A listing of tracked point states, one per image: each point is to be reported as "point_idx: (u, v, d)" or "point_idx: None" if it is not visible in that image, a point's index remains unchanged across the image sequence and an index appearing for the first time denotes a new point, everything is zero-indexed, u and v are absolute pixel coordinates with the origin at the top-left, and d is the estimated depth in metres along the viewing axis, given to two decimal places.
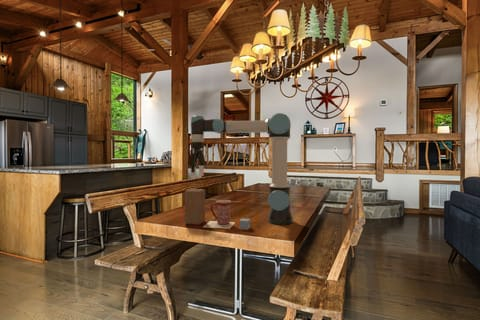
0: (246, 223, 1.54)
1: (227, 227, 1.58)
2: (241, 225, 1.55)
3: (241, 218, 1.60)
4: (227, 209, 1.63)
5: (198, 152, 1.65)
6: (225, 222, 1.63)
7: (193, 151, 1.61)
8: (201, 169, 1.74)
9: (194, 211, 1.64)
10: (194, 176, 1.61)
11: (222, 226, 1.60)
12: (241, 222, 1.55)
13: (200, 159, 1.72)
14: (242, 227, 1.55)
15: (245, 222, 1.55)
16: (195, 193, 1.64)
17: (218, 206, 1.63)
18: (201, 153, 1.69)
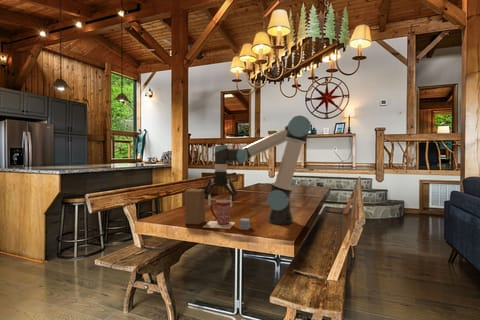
0: (246, 223, 1.54)
1: (227, 227, 1.58)
2: (241, 225, 1.55)
3: (241, 218, 1.60)
4: (227, 209, 1.63)
5: (216, 181, 1.66)
6: (225, 222, 1.63)
7: None
8: None
9: (194, 211, 1.64)
10: None
11: (222, 226, 1.60)
12: (241, 222, 1.55)
13: None
14: (242, 227, 1.55)
15: (245, 222, 1.55)
16: (195, 193, 1.64)
17: (218, 206, 1.63)
18: (222, 183, 1.64)
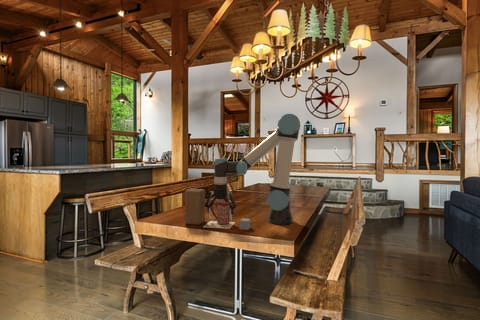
0: (246, 223, 1.54)
1: (227, 227, 1.58)
2: (241, 225, 1.55)
3: (241, 218, 1.60)
4: (227, 209, 1.63)
5: (216, 194, 1.66)
6: (225, 222, 1.63)
7: None
8: None
9: (194, 211, 1.64)
10: None
11: (222, 226, 1.60)
12: (241, 222, 1.55)
13: None
14: (242, 227, 1.55)
15: (245, 222, 1.55)
16: (195, 193, 1.64)
17: (218, 206, 1.63)
18: (222, 195, 1.65)
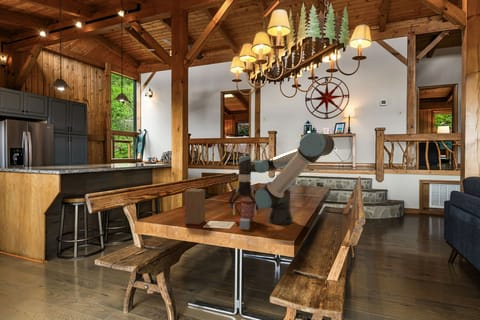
0: (246, 223, 1.54)
1: (227, 227, 1.58)
2: (241, 225, 1.55)
3: (241, 218, 1.60)
4: (251, 207, 1.69)
5: (241, 191, 1.72)
6: None
7: None
8: None
9: (194, 211, 1.64)
10: (233, 213, 1.74)
11: (222, 226, 1.60)
12: (241, 222, 1.55)
13: None
14: (242, 227, 1.55)
15: (245, 222, 1.55)
16: (195, 193, 1.64)
17: (242, 204, 1.70)
18: (246, 192, 1.71)
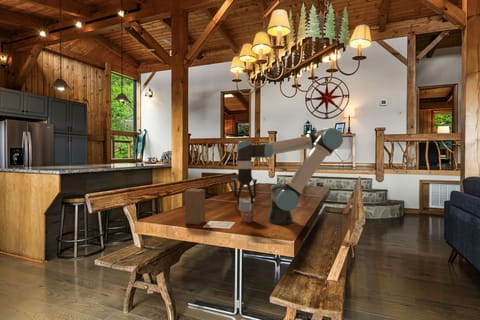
0: (247, 204, 1.54)
1: (227, 227, 1.58)
2: (242, 207, 1.55)
3: None
4: (251, 207, 1.69)
5: (241, 180, 1.55)
6: (249, 220, 1.70)
7: None
8: None
9: (194, 211, 1.64)
10: (239, 207, 1.57)
11: (222, 226, 1.60)
12: (242, 204, 1.55)
13: None
14: (243, 209, 1.55)
15: (245, 204, 1.54)
16: (195, 193, 1.64)
17: None
18: (246, 181, 1.54)
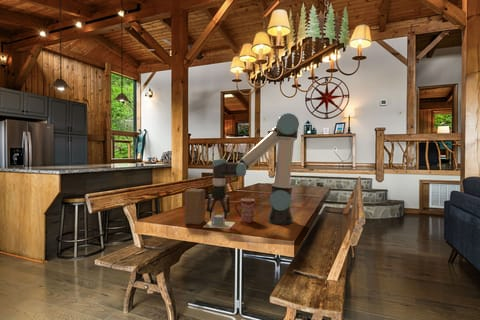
0: (220, 219, 1.61)
1: (227, 227, 1.58)
2: (215, 221, 1.62)
3: (216, 215, 1.67)
4: (251, 207, 1.69)
5: (214, 196, 1.63)
6: (249, 220, 1.70)
7: None
8: None
9: (194, 211, 1.64)
10: (211, 222, 1.65)
11: (222, 226, 1.60)
12: (215, 218, 1.62)
13: None
14: (216, 223, 1.62)
15: (219, 219, 1.62)
16: (195, 193, 1.64)
17: (242, 204, 1.70)
18: (220, 197, 1.62)
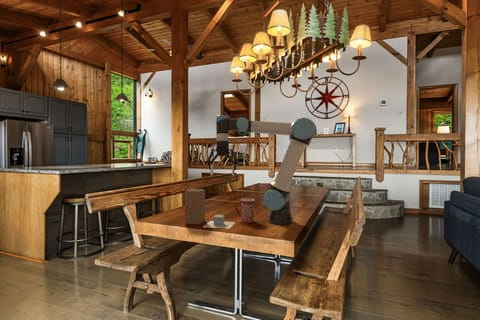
0: (220, 219, 1.61)
1: (227, 227, 1.58)
2: (215, 221, 1.62)
3: (216, 215, 1.67)
4: (251, 207, 1.69)
5: (218, 151, 1.69)
6: (249, 220, 1.70)
7: None
8: None
9: (194, 211, 1.64)
10: None
11: (222, 226, 1.60)
12: (215, 218, 1.62)
13: None
14: (216, 223, 1.62)
15: (219, 219, 1.62)
16: (195, 193, 1.64)
17: (242, 204, 1.70)
18: (224, 152, 1.68)
